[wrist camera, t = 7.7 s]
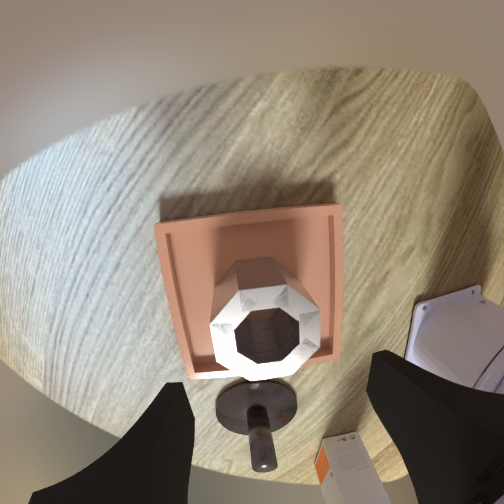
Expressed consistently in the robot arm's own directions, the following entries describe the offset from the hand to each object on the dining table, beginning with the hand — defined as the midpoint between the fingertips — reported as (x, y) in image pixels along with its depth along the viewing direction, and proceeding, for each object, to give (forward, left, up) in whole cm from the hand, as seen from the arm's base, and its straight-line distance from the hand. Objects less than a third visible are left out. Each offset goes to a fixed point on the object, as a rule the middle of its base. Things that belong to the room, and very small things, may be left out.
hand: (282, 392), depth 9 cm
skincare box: (-7, +21, -10) cm, 24 cm away
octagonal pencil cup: (0, 0, -9) cm, 9 cm away
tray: (0, 0, -10) cm, 10 cm away
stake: (+1, +11, -10) cm, 15 cm away
